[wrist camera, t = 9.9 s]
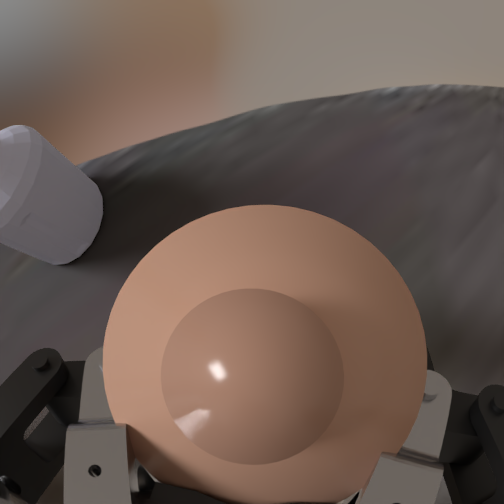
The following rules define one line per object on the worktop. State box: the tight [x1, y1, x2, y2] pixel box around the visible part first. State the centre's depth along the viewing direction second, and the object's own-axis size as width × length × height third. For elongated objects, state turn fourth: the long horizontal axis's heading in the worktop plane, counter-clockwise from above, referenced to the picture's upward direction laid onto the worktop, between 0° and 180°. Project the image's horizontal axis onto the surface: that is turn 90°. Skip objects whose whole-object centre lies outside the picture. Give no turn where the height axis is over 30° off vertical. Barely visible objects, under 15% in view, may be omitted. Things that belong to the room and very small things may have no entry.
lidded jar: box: [103, 205, 427, 504], centre depth 9 cm, size 6×6×10 cm
